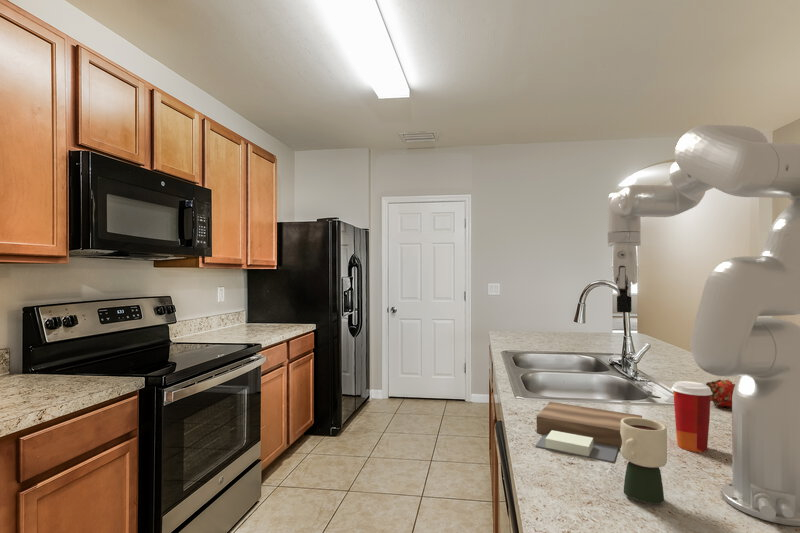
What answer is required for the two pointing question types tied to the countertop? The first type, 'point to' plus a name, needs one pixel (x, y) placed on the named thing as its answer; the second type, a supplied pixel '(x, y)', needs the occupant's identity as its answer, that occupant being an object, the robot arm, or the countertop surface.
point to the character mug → (644, 458)
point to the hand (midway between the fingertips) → (624, 311)
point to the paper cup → (692, 415)
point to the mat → (598, 451)
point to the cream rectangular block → (569, 443)
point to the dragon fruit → (721, 392)
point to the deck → (583, 422)
